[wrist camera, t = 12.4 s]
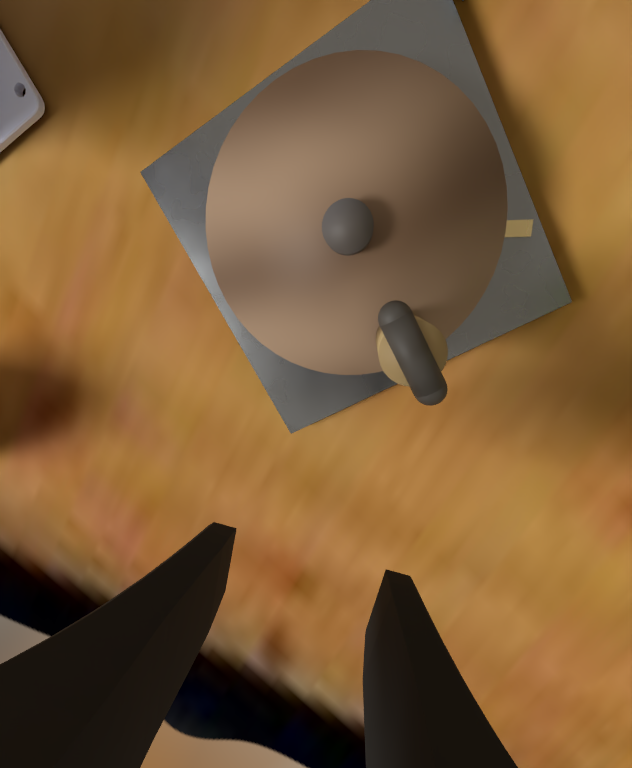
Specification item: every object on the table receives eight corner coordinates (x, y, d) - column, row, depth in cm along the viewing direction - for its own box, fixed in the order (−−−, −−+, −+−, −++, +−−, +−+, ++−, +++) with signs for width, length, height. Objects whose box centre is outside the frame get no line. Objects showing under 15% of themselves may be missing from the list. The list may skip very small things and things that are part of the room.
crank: (168, 179, 15) (70, 126, 10) (420, -3, 12) (457, -196, 7) (305, 422, 17) (280, 478, 12) (547, 307, 14) (643, 318, 9)
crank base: (153, 178, 16) (138, 171, 15) (429, -24, 13) (434, -50, 12) (294, 425, 18) (290, 434, 17) (559, 301, 15) (573, 302, 14)
